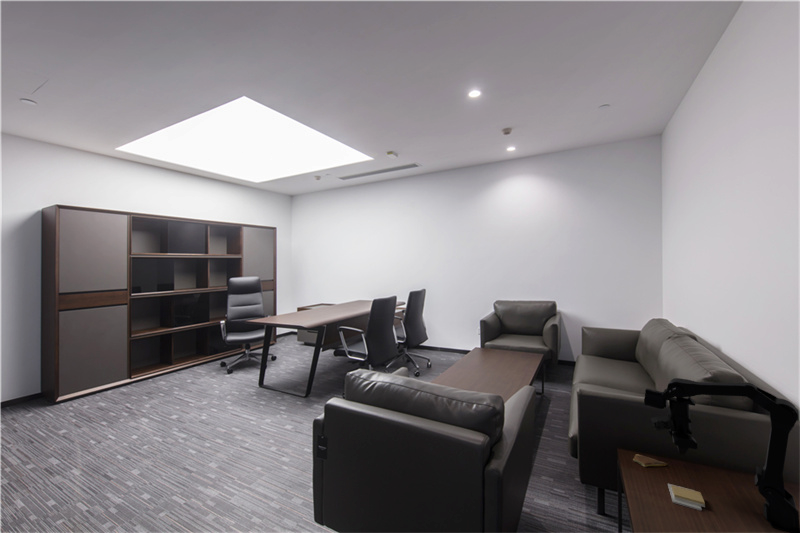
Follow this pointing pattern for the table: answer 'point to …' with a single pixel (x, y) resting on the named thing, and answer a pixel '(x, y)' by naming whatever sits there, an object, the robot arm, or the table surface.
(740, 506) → the table surface
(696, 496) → the card
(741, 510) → the table surface
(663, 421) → the robot arm
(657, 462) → the shard
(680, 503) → the mat
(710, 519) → the table surface
